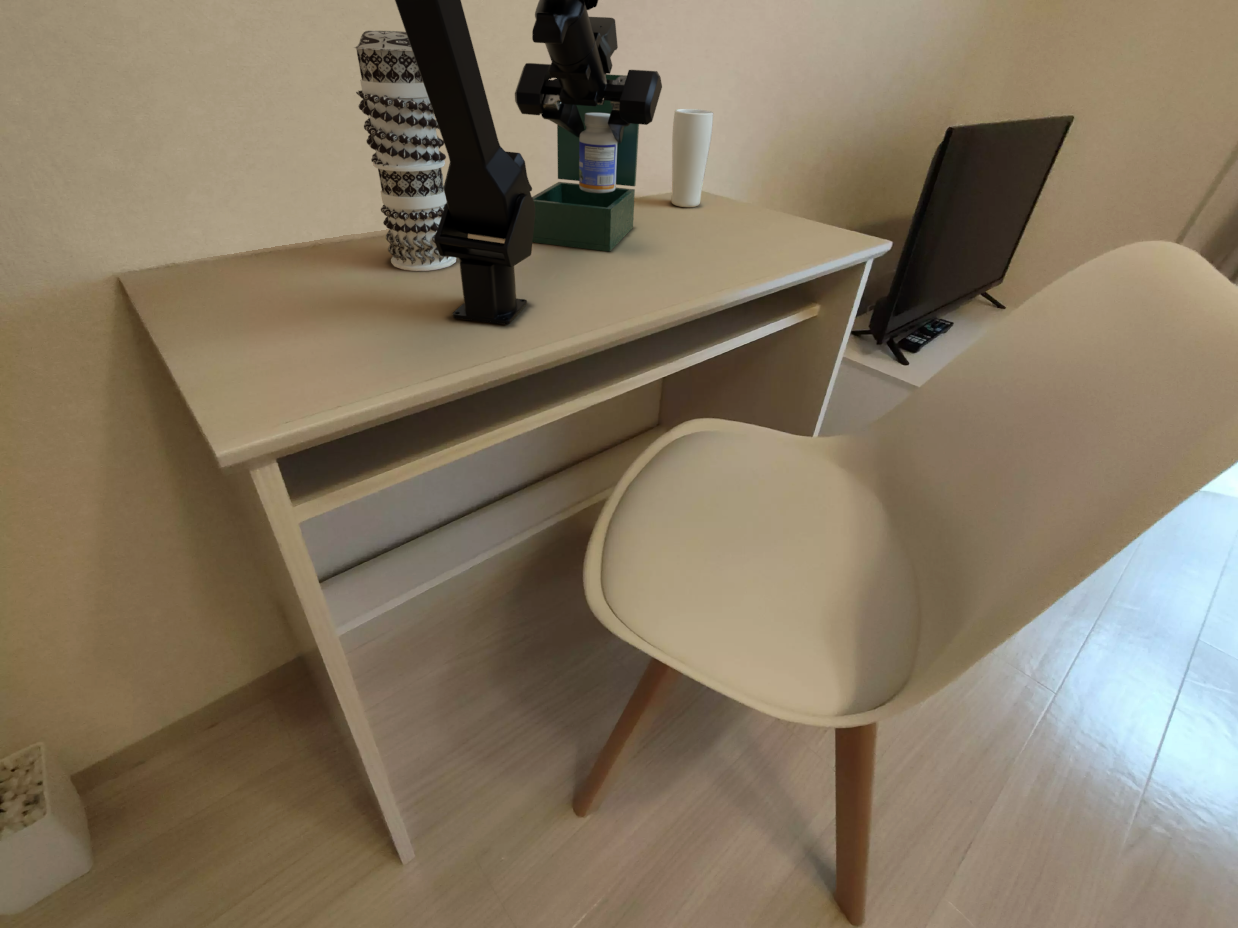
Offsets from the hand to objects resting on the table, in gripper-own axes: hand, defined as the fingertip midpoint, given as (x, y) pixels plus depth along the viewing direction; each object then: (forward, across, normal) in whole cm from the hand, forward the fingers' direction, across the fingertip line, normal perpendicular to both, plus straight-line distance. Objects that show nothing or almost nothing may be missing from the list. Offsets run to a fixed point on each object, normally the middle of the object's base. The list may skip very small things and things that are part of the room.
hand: (602, 138), depth 87 cm
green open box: (+8, +2, +10) cm, 14 cm away
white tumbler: (+27, -7, -8) cm, 29 cm away
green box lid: (+4, +3, -4) cm, 6 cm away
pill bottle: (+4, 0, +6) cm, 7 cm away
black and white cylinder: (-6, +17, +26) cm, 31 cm away
